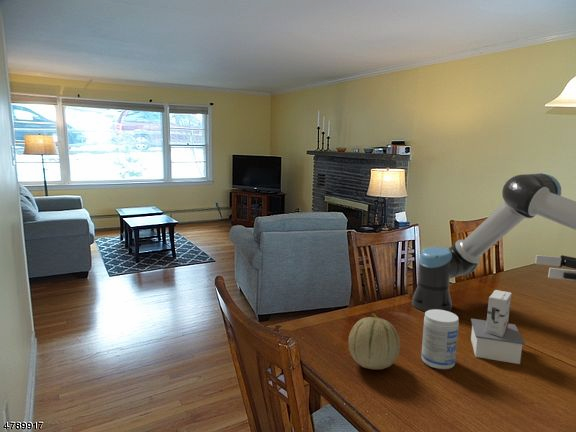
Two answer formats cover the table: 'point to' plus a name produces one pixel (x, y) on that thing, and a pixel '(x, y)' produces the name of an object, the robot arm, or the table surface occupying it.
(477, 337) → the podium
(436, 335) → the supplement tub
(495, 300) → the ink box
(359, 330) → the cantaloupe
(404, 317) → the table surface
